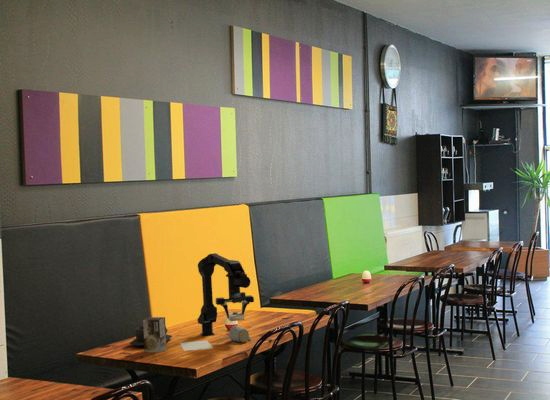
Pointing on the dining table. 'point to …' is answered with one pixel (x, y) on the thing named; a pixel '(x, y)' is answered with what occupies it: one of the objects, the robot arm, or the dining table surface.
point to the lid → (236, 316)
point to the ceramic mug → (239, 334)
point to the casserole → (140, 336)
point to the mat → (196, 345)
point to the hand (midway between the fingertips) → (235, 317)
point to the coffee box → (154, 334)
